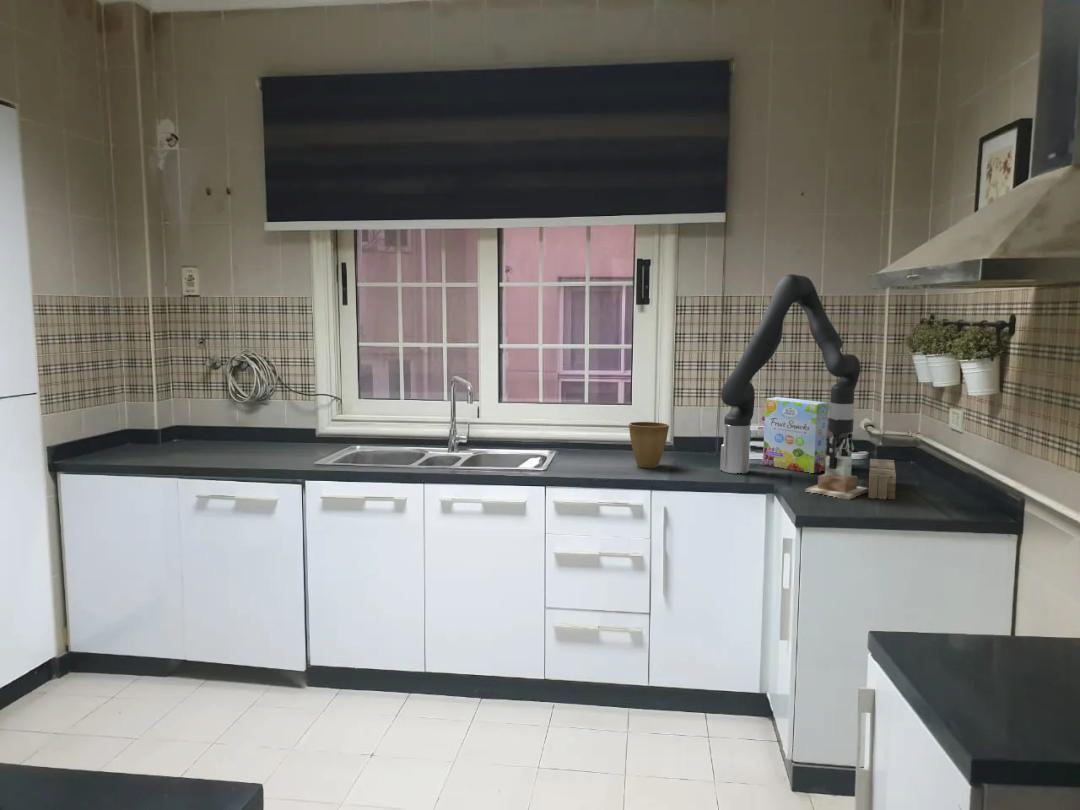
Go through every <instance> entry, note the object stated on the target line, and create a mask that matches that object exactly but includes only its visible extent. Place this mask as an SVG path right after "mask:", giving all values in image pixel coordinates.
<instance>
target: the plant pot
mask: <svg viewBox="0 0 1080 810" xmlns="http://www.w3.org/2000/svg"><path fill="white" fill-rule="evenodd" d="M669 428H670V425H669V423H664V422H656V421H652V422H651V421H633V422H628V429H629V437H630V438H629V439H630V442H631V448H632V452H633V457H634V459H635V462H636V466H637V467H639V468H643V469H655V468H657V467H658V466H659V464H660V463H661V458H662V456H663V453H664V450H665V447H666V443H667V438H668V436H669V435H668V434H669Z"/></svg>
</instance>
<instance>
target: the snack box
mask: <svg viewBox="0 0 1080 810" xmlns="http://www.w3.org/2000/svg"><path fill="white" fill-rule="evenodd" d="M828 419H829V402H825V401H824V402H823V401H816V400H807V399H801V398H800V399H799V398H790V397H779V396H774V397H768V398H767V397H766V398H765V405H764V427H763V450H762V454H763V455H762V465H764V466H769V467H774V468H778V467H779V469H783V468H784V469H785V470H789V469H790V470H791V471H794V470H797V471H796V472H800V471H803V472H802V473H805V472H809V473H808V474H811V473H816V474H819V473H822V472H821V471H824V472H825V465H826V440H827V432H828ZM818 472H819V473H818Z"/></svg>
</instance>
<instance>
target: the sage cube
mask: <svg viewBox="0 0 1080 810" xmlns="http://www.w3.org/2000/svg"><path fill="white" fill-rule="evenodd" d="M829 460H830V457H829V456H828V457H826V456H825V468H824V474H825V476H832V477H838V478H846V477H848V476H851V475H852V464H853V463H852V462H853V461H852V460H853V457H852V456H851V457H846V456H839V455H838V456H837V469H830V468H829Z"/></svg>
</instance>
